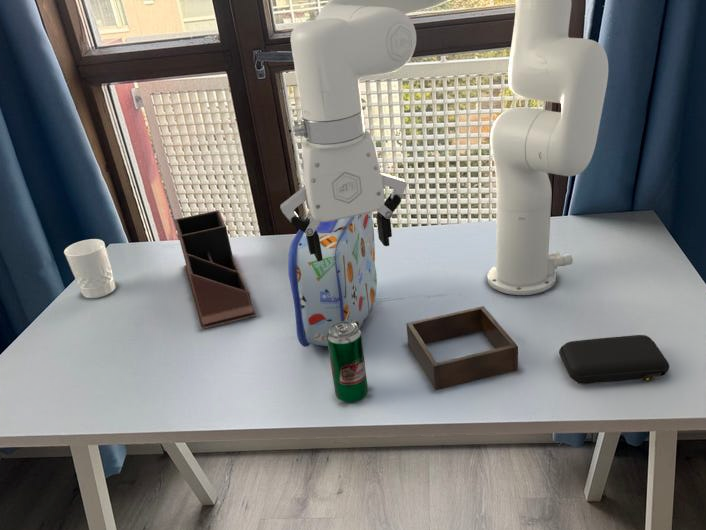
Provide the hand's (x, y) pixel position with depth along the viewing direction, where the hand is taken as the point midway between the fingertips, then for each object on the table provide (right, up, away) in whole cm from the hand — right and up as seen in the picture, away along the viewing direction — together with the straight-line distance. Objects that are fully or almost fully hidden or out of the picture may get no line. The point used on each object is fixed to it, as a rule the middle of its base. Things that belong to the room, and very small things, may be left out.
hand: (351, 249), depth 99 cm
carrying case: (+40, -17, +8) cm, 44 cm away
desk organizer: (-28, -2, +43) cm, 52 cm away
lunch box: (-2, -8, +29) cm, 30 cm away
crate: (+17, -15, +15) cm, 27 cm away
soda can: (0, -21, +9) cm, 23 cm away
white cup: (-54, -1, +49) cm, 73 cm away
